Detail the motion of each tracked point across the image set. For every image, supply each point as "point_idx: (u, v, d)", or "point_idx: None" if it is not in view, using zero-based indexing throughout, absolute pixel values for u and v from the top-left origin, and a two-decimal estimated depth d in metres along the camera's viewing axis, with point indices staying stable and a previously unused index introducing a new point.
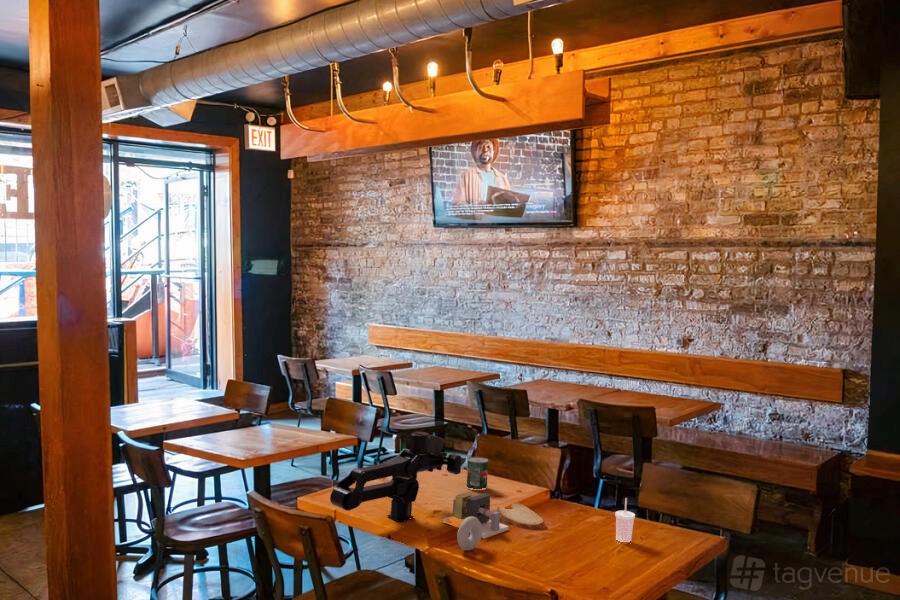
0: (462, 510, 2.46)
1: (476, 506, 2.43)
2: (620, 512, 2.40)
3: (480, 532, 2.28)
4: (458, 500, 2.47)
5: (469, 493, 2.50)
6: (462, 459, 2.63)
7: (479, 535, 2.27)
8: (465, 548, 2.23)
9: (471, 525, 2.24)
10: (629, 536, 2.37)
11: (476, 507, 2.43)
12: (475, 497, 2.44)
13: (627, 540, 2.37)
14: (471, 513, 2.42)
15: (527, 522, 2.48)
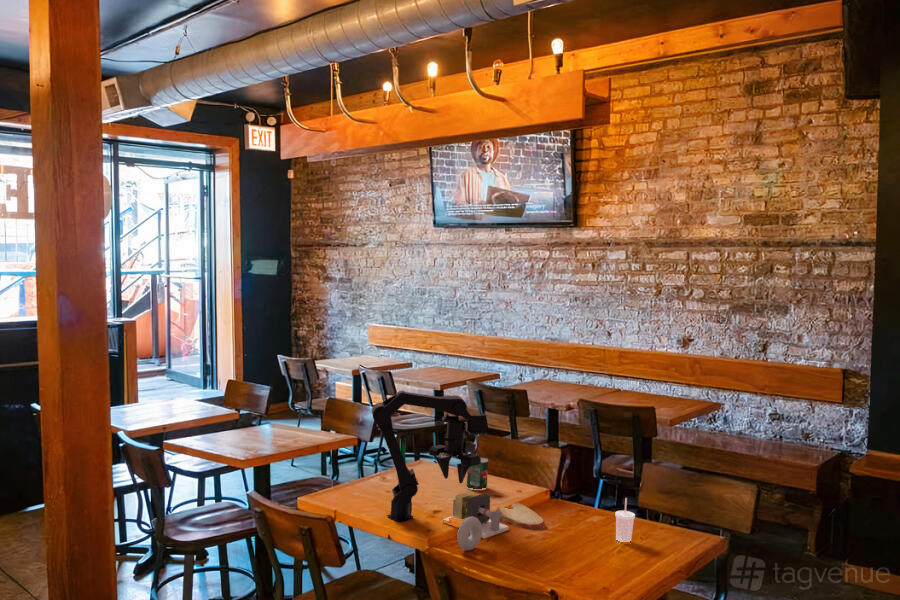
0: (462, 510, 2.46)
1: (476, 506, 2.43)
2: (620, 512, 2.40)
3: (480, 532, 2.28)
4: (458, 500, 2.47)
5: (469, 493, 2.50)
6: (464, 475, 2.50)
7: (479, 535, 2.27)
8: (465, 548, 2.23)
9: (471, 525, 2.24)
10: (629, 536, 2.37)
11: (476, 507, 2.43)
12: (475, 497, 2.44)
13: (627, 540, 2.37)
14: (471, 513, 2.42)
15: (527, 522, 2.48)
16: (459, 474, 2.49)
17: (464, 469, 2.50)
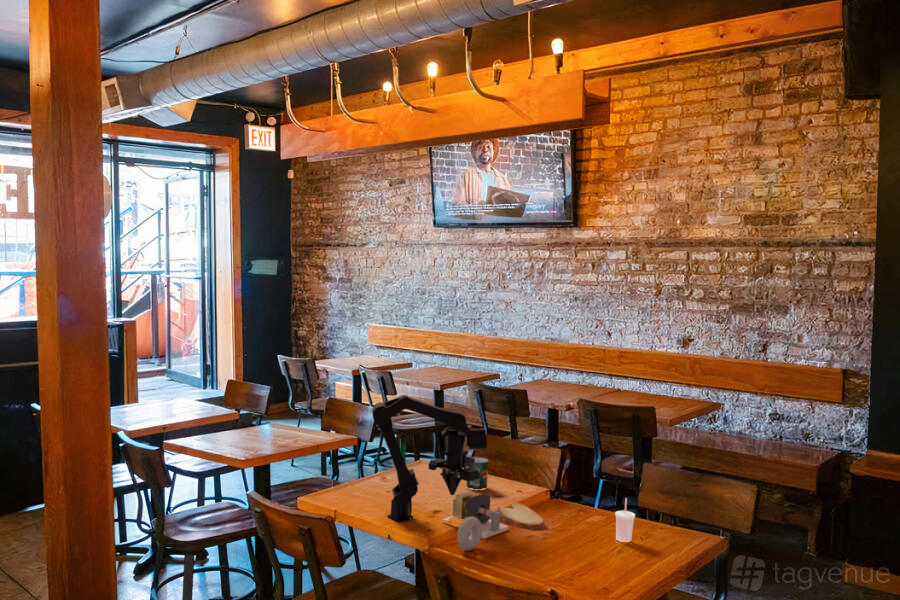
0: (462, 510, 2.46)
1: (476, 506, 2.43)
2: (620, 512, 2.40)
3: (480, 532, 2.28)
4: (458, 500, 2.47)
5: (469, 493, 2.50)
6: (456, 487, 2.53)
7: (479, 535, 2.27)
8: (465, 548, 2.23)
9: (471, 525, 2.24)
10: (629, 536, 2.37)
11: (476, 507, 2.43)
12: (475, 497, 2.44)
13: (627, 540, 2.37)
14: (471, 513, 2.42)
15: (527, 522, 2.48)
16: (451, 486, 2.51)
17: (456, 481, 2.52)
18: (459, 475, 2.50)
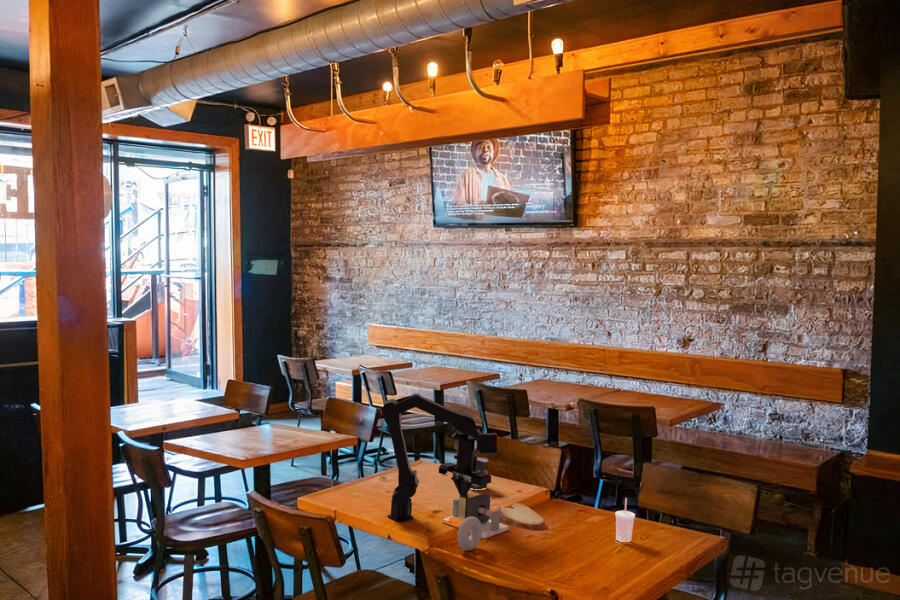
0: (466, 511, 2.45)
1: (476, 506, 2.43)
2: (620, 512, 2.40)
3: (480, 532, 2.28)
4: (461, 501, 2.46)
5: (473, 494, 2.49)
6: (467, 492, 2.50)
7: (479, 535, 2.27)
8: (465, 548, 2.23)
9: (471, 525, 2.24)
10: (629, 536, 2.37)
11: (476, 507, 2.43)
12: (475, 497, 2.44)
13: (627, 540, 2.37)
14: (471, 513, 2.42)
15: (527, 522, 2.48)
16: (462, 491, 2.48)
17: (467, 485, 2.49)
18: (470, 479, 2.47)
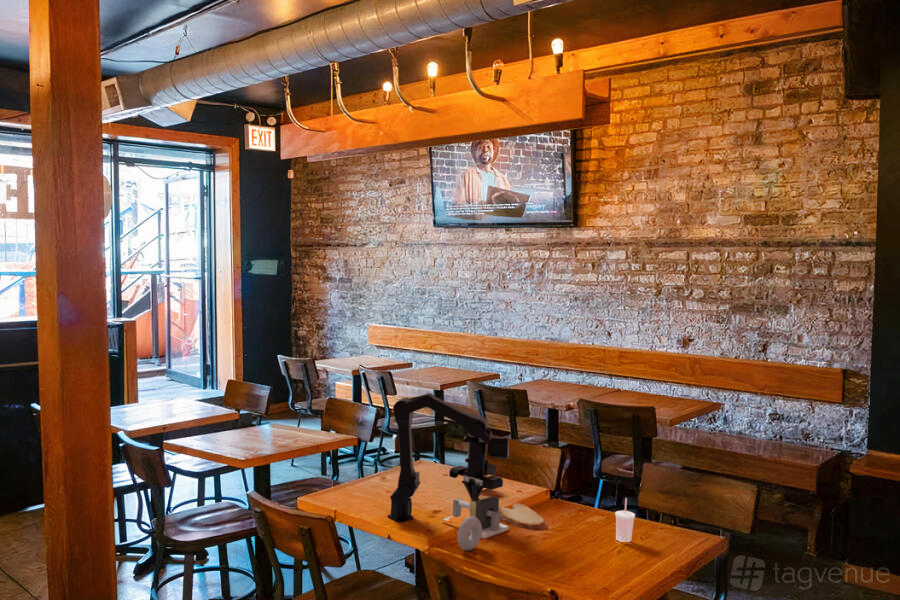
0: None
1: (485, 509, 2.40)
2: (620, 512, 2.40)
3: (480, 532, 2.28)
4: (473, 505, 2.42)
5: (484, 498, 2.46)
6: (478, 495, 2.46)
7: (479, 535, 2.27)
8: (465, 548, 2.23)
9: (471, 525, 2.24)
10: (629, 536, 2.37)
11: (485, 510, 2.40)
12: (484, 500, 2.42)
13: (627, 540, 2.37)
14: (479, 517, 2.40)
15: (527, 522, 2.48)
16: (473, 494, 2.45)
17: (478, 489, 2.46)
18: (481, 483, 2.43)
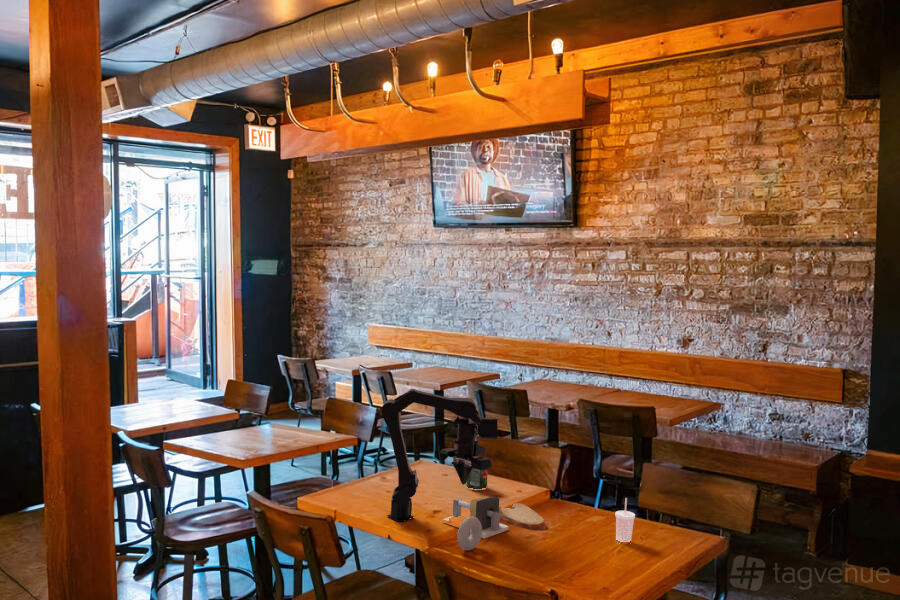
0: None
1: (485, 509, 2.40)
2: (620, 512, 2.40)
3: (480, 532, 2.28)
4: (473, 505, 2.42)
5: (484, 498, 2.46)
6: (467, 476, 2.50)
7: (479, 535, 2.27)
8: (465, 548, 2.23)
9: (471, 525, 2.24)
10: (629, 536, 2.37)
11: (485, 510, 2.40)
12: (484, 500, 2.42)
13: (627, 540, 2.37)
14: (480, 517, 2.40)
15: (527, 522, 2.48)
16: (462, 475, 2.48)
17: (467, 470, 2.49)
18: (470, 464, 2.47)
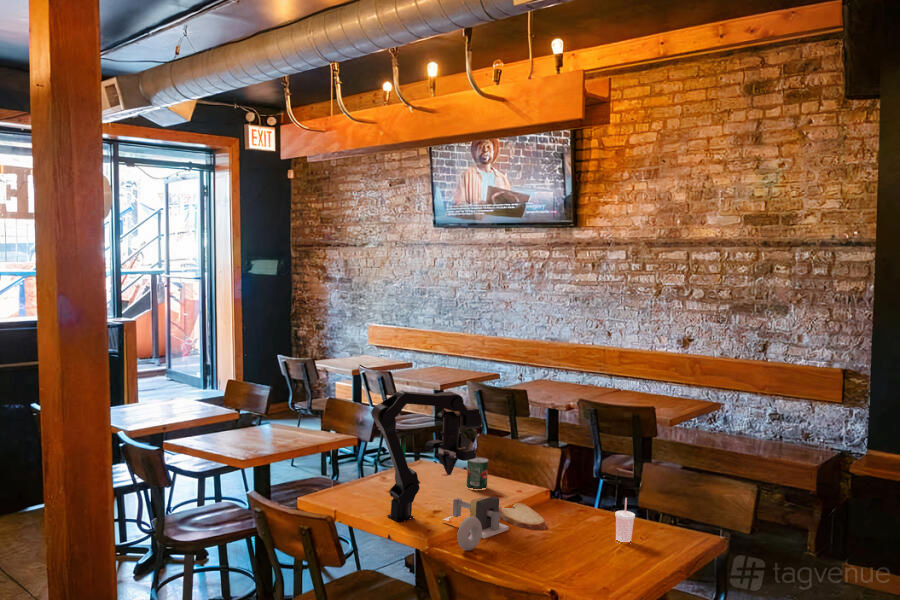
0: None
1: (485, 509, 2.40)
2: (620, 512, 2.40)
3: (480, 532, 2.28)
4: (473, 505, 2.42)
5: (484, 498, 2.46)
6: (452, 467, 2.57)
7: (479, 535, 2.27)
8: (465, 548, 2.23)
9: (471, 525, 2.24)
10: (629, 536, 2.37)
11: (485, 510, 2.40)
12: (484, 500, 2.42)
13: (627, 540, 2.37)
14: (480, 517, 2.40)
15: (528, 522, 2.49)
16: (447, 466, 2.56)
17: (452, 461, 2.57)
18: (455, 455, 2.54)
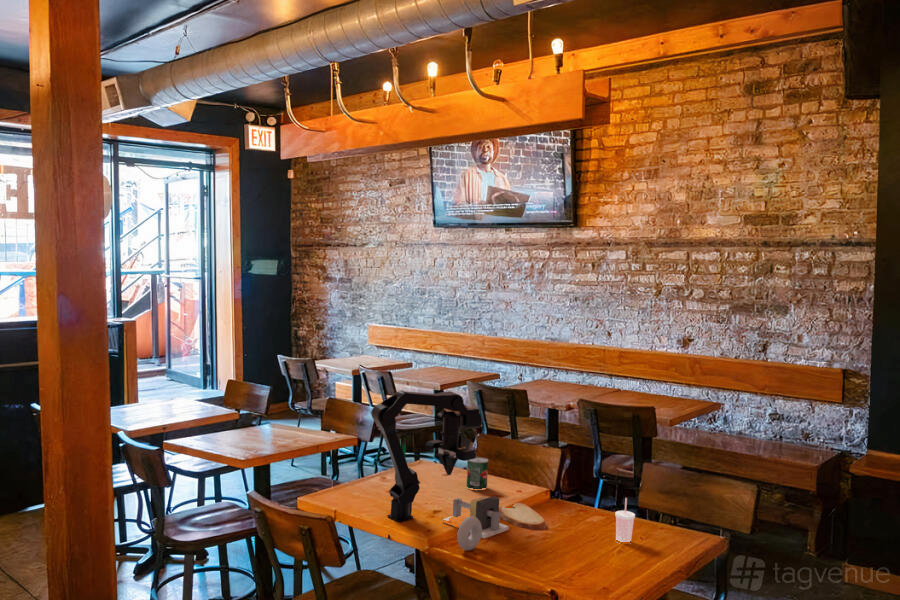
0: None
1: (485, 509, 2.40)
2: (620, 512, 2.40)
3: (480, 532, 2.28)
4: (473, 505, 2.42)
5: (484, 498, 2.46)
6: (452, 467, 2.57)
7: (479, 535, 2.27)
8: (465, 548, 2.23)
9: (471, 525, 2.24)
10: (629, 536, 2.37)
11: (485, 510, 2.40)
12: (484, 500, 2.42)
13: (627, 540, 2.37)
14: (480, 517, 2.40)
15: (528, 522, 2.49)
16: (447, 466, 2.56)
17: (452, 461, 2.57)
18: (455, 455, 2.55)
